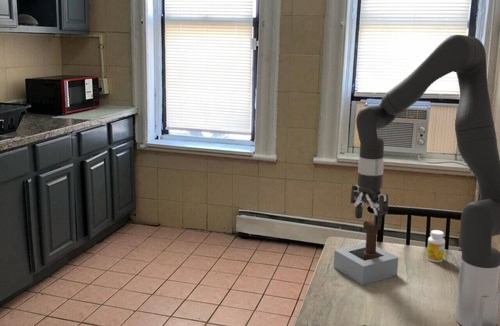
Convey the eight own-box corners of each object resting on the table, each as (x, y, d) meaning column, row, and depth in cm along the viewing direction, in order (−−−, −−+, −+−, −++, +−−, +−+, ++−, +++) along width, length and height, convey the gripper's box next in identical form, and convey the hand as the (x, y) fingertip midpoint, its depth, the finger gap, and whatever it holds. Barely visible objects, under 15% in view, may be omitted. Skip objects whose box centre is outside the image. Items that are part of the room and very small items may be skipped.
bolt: (378, 272, 163) (381, 226, 160) (362, 271, 163) (364, 225, 161) (377, 265, 168) (379, 220, 166) (361, 264, 169) (363, 219, 166)
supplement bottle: (422, 257, 178) (425, 230, 176) (435, 254, 180) (437, 228, 178) (434, 263, 174) (437, 236, 171) (446, 260, 176) (449, 233, 173)
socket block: (397, 275, 165) (398, 257, 164) (362, 284, 158) (363, 266, 157) (367, 258, 177) (368, 242, 175) (333, 267, 170) (334, 250, 169)
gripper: (396, 175, 156) (393, 226, 159) (364, 165, 168) (361, 213, 171) (377, 178, 152) (374, 231, 156) (345, 168, 164) (343, 217, 168)
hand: (367, 221), depth 164 cm, fingers open, 8 cm apart
